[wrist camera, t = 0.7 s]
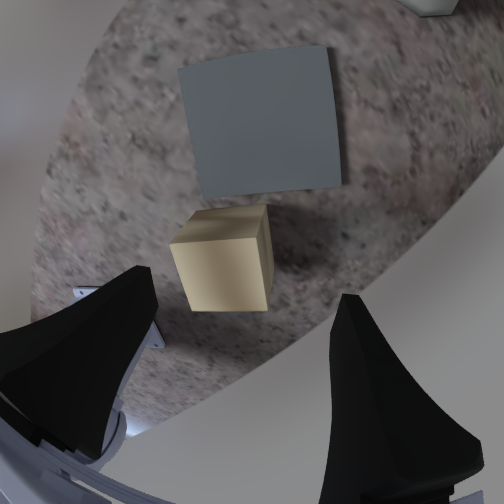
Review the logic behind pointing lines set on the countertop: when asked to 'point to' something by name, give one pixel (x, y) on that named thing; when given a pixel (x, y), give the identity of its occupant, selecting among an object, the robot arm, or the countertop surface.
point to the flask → (430, 6)
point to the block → (226, 259)
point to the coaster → (263, 121)
